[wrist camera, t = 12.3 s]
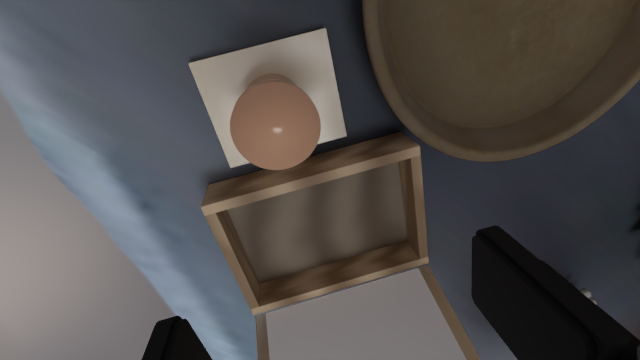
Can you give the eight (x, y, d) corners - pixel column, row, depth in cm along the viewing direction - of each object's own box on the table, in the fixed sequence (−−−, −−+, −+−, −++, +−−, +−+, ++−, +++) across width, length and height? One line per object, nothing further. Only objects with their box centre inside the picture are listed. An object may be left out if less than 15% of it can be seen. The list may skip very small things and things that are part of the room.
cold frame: (400, 131, 32) (420, 145, 28) (412, 239, 39) (428, 263, 35) (208, 184, 32) (200, 207, 28) (254, 285, 38) (253, 315, 34)
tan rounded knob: (297, 60, 27) (309, 71, 20) (313, 127, 30) (328, 157, 23) (228, 78, 26) (215, 96, 19) (251, 143, 29) (247, 179, 22)
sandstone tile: (323, 28, 27) (325, 27, 26) (344, 133, 31) (346, 136, 31) (190, 62, 26) (188, 63, 25) (231, 164, 31) (230, 168, 30)
